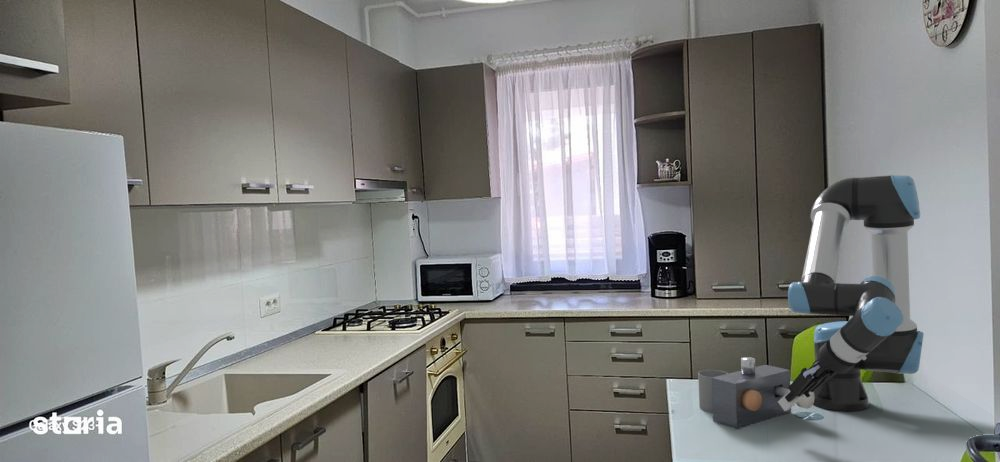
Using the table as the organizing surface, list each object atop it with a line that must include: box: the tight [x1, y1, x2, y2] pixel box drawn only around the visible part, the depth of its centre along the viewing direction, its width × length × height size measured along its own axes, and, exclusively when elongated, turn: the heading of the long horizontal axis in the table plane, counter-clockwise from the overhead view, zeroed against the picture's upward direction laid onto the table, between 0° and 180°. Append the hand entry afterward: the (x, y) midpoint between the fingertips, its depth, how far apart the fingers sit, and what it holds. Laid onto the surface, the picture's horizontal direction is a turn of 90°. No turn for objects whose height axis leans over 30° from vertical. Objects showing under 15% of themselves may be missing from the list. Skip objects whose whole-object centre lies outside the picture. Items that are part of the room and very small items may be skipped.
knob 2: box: [775, 386, 815, 410], centre depth 175 cm, size 10×5×5 cm, turn 30°
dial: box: [740, 356, 756, 375], centre depth 180 cm, size 4×4×4 cm
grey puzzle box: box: [712, 364, 792, 430], centre depth 179 cm, size 8×22×12 cm, turn 120°
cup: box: [697, 369, 729, 413], centre depth 189 cm, size 8×8×10 cm
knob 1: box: [742, 389, 762, 411], centre depth 175 cm, size 10×5×5 cm, turn 30°
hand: (783, 405), depth 163 cm, fingers closed
